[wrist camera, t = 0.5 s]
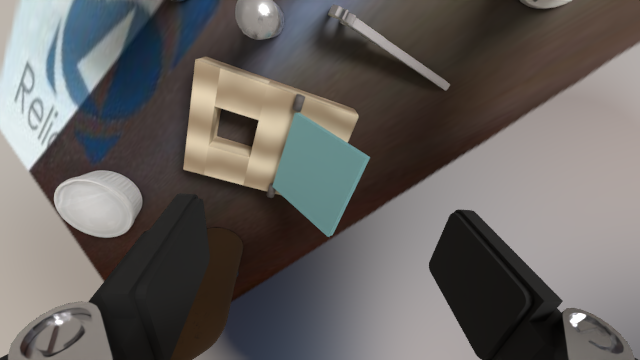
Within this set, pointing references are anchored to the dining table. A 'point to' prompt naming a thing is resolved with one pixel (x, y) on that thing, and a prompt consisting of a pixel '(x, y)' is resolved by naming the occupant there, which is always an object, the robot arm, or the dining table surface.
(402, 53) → the caliper
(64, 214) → the ramekin
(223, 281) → the olive oil
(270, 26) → the steel peg
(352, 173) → the latch flap
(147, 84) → the dining table surface
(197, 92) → the wooden block
